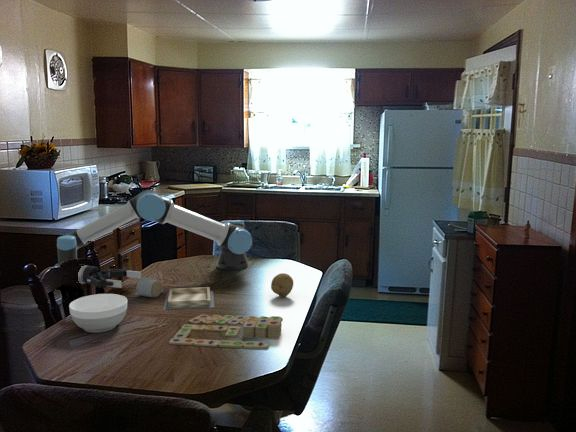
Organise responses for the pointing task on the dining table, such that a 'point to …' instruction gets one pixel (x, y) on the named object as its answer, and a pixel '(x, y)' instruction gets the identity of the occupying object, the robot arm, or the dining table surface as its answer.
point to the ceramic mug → (149, 287)
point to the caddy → (189, 297)
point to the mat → (190, 307)
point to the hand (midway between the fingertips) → (131, 279)
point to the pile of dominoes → (231, 331)
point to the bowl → (98, 311)
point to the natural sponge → (282, 284)
